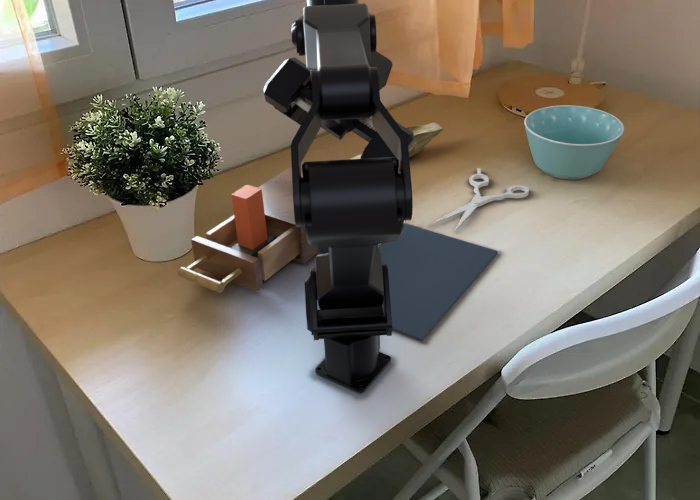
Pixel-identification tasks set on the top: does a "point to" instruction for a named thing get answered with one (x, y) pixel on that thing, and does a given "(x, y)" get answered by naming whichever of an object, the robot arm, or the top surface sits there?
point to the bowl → (571, 139)
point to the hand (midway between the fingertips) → (338, 145)
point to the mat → (428, 276)
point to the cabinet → (285, 209)
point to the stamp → (250, 221)
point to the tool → (420, 137)
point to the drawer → (239, 257)
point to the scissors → (484, 197)
